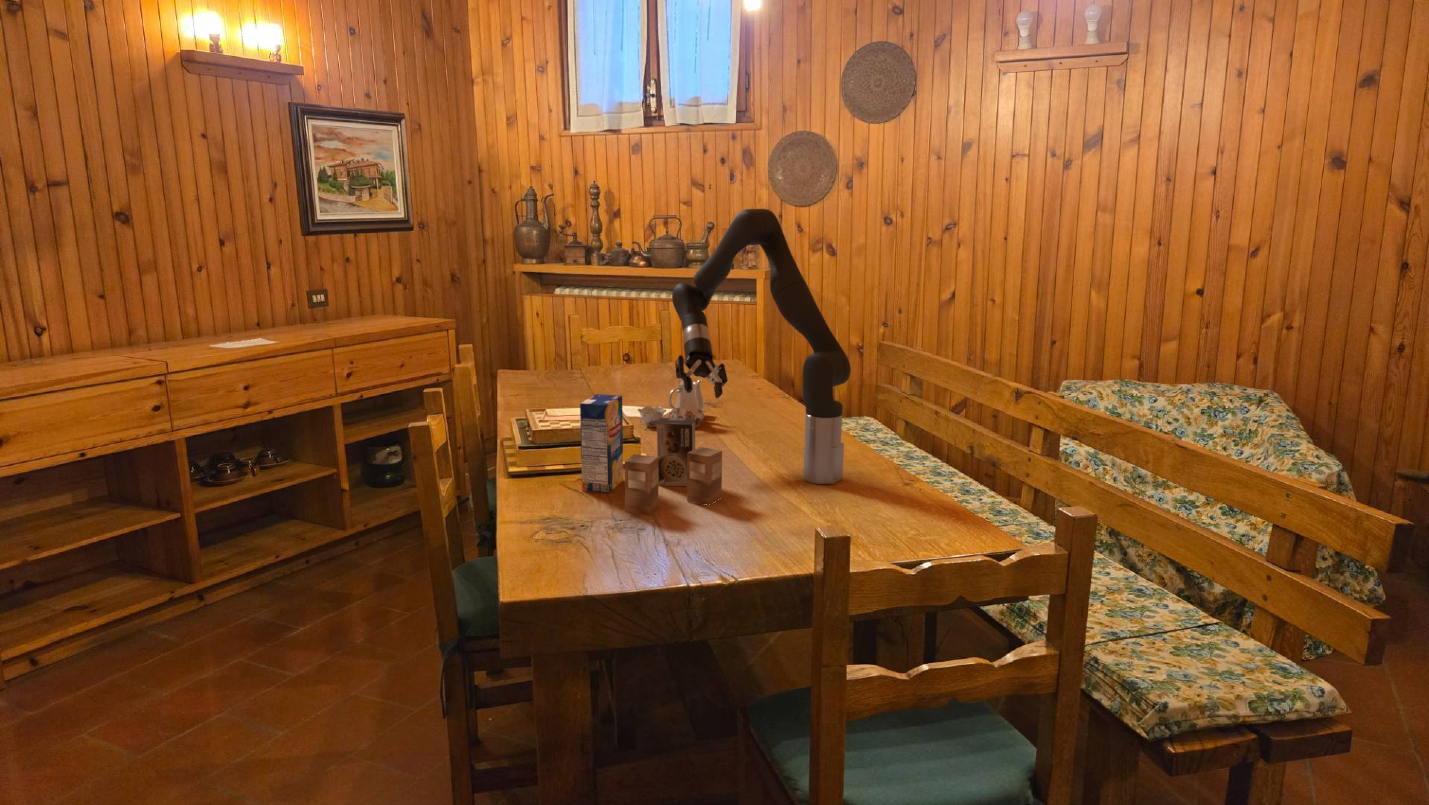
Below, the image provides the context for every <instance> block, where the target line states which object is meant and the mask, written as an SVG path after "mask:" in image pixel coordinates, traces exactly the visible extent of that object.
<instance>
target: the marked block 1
mask: <svg viewBox="0 0 1429 805" xmlns="http://www.w3.org/2000/svg"><path fill="white" fill-rule="evenodd" d="M658 483H659V466H658V457H657V456H655V455H643V454H632V455H631V456H629V458H627V459H626V460H625V461H624V512H625V513H634V514H642V515H651V514H652V513H654V511H655V510H656V509H657V508H658V507H659V485H658Z"/></svg>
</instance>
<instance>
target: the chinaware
mask: <svg viewBox="0 0 1429 805" xmlns="http://www.w3.org/2000/svg"><path fill="white" fill-rule="evenodd" d="M691 380H692V388H693V389H692V391H691V392H690V393H687V392H686V390H685V388H684V381H683V380H682V379H681V380H680V381H677V382H676V386H677V387H675V388H672V389H671V390H670V392H669V394H668V397H667V398H668V399H667V400H668V405H669V407H670V408H671V411H670V413H669V415H668V418H695V428H698V427H700V425H701V422H702V421H703V419H704V418H705V414H704V413H705V412H708V410H709V404H708V403H707V402H706V400H705V399H704V397H703V394H702V389H701V383H702V379H698V380H697V381H693V379H692V378H691ZM675 391H676V393H677V398H676V402H675V403H674V405H673V404H672V396H673V393H675ZM705 405H706V406H707V408H706V410H704V409H705V408H704V406H705ZM637 411H638V413H639V414H640V418H639V422H640V425H642V426H644V425H645V427H650V428H654V427H655V428H657V423H658V422H659V420H660V418H664V417H663V416H664V414H665V413H666V412H667V410H666V409H664V407H661V406H656V407H652V406H643V407H642V408H638V409H637ZM642 421H643V422H644V423H643V422H642Z"/></svg>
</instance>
